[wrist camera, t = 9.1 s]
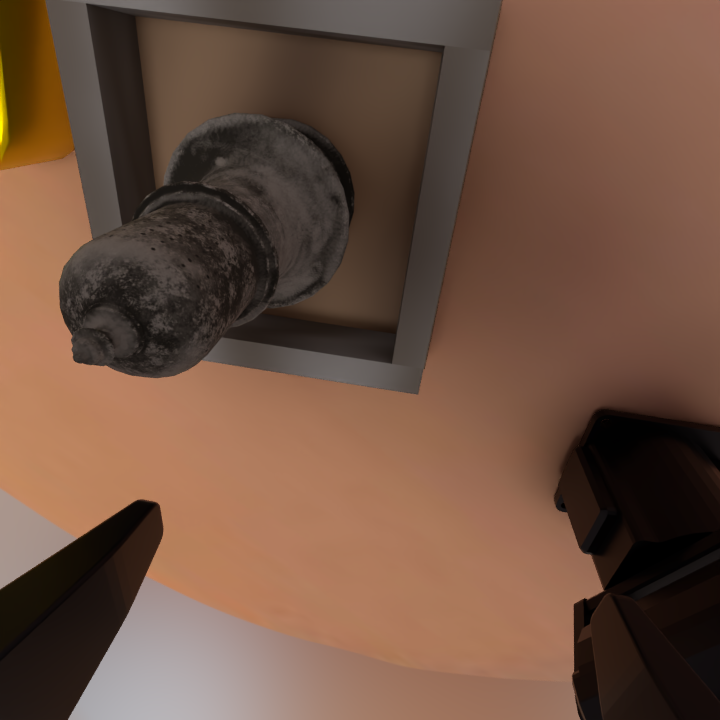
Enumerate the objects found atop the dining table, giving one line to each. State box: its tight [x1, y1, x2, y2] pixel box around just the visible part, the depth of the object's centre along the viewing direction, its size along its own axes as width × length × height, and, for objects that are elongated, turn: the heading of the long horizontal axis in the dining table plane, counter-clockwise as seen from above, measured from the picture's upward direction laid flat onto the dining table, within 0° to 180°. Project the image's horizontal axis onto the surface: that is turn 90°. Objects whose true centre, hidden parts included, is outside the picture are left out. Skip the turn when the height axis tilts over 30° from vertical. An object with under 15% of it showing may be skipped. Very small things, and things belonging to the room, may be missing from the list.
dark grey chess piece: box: [59, 113, 355, 378], centre depth 12 cm, size 6×6×12 cm
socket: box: [45, 0, 503, 395], centre depth 17 cm, size 13×13×4 cm
